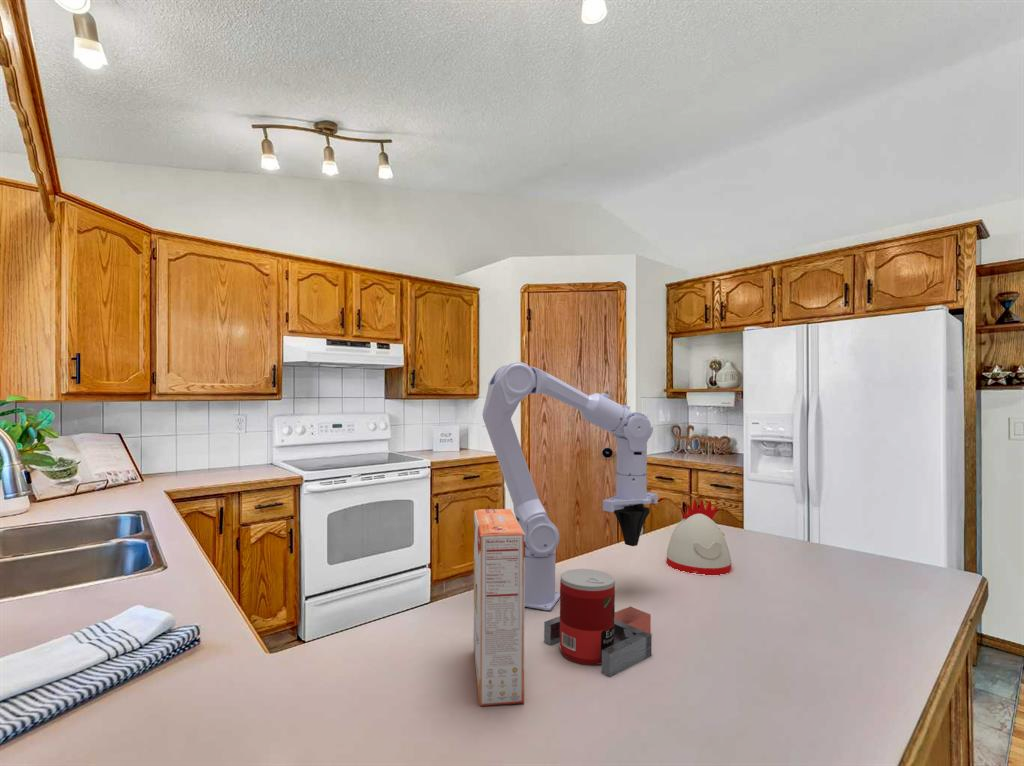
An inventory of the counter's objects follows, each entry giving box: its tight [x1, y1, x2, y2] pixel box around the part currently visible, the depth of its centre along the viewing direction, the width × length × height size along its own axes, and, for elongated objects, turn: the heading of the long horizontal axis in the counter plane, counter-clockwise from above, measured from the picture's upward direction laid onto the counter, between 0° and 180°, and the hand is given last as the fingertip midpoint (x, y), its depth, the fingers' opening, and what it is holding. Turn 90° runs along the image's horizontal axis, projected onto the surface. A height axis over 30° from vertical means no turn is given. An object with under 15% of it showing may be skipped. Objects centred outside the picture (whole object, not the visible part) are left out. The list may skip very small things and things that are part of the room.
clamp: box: [543, 606, 653, 677], centre depth 79 cm, size 15×13×3 cm
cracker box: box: [473, 508, 526, 707], centre depth 69 cm, size 14×6×21 cm, turn 7°
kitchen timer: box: [666, 498, 732, 576], centre depth 118 cm, size 14×14×15 cm
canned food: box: [559, 568, 616, 666], centre depth 76 cm, size 8×8×11 cm
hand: (631, 544), depth 99 cm, fingers closed
